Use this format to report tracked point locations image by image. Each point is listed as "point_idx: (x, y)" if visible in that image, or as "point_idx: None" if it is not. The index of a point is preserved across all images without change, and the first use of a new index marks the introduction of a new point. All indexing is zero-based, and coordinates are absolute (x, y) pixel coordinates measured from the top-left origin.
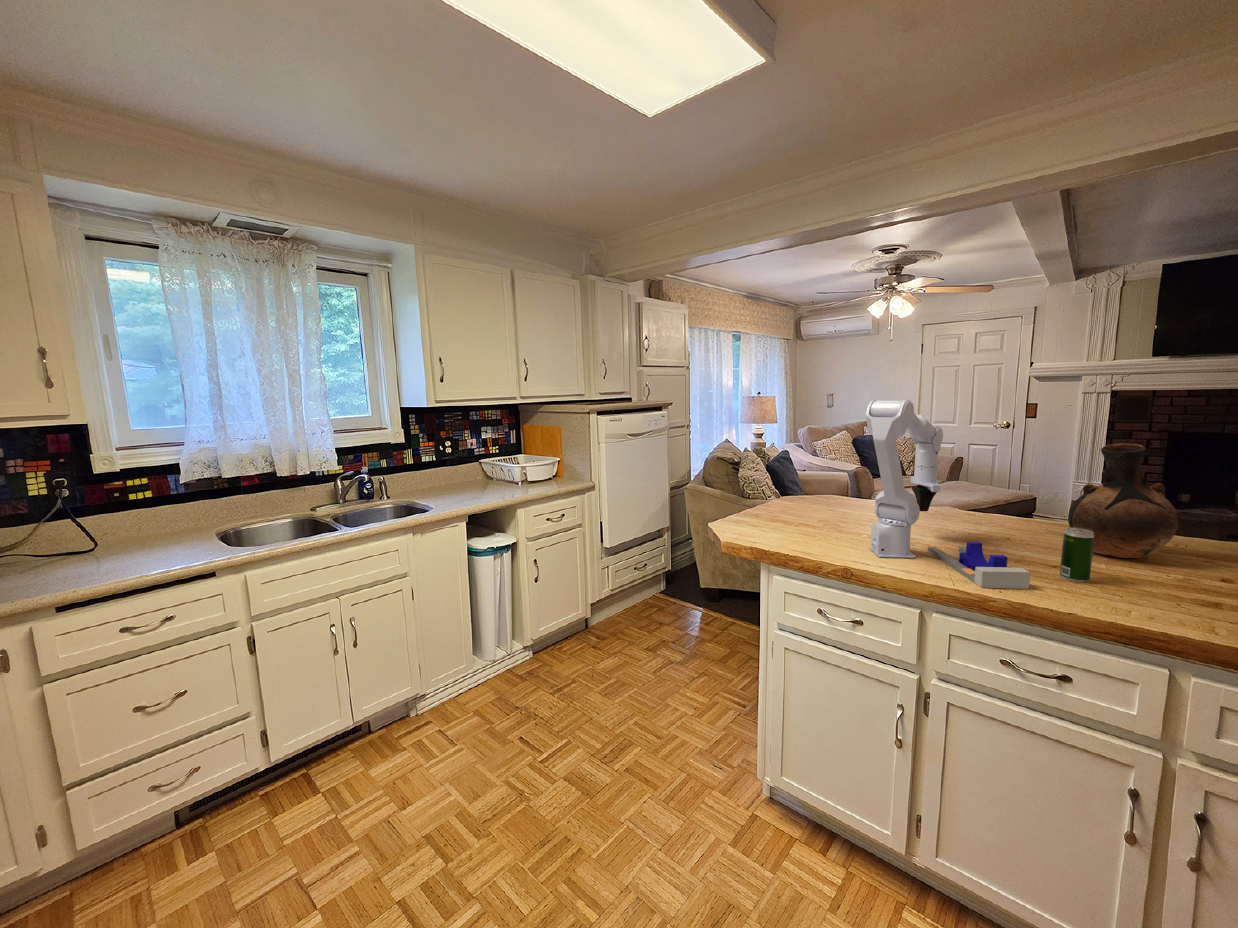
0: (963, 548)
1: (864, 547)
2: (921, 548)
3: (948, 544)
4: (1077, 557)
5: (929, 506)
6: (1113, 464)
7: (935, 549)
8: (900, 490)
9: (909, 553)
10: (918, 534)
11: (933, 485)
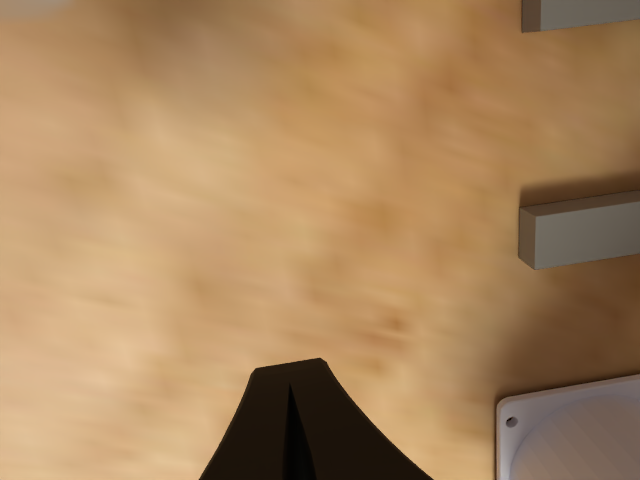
0: (582, 4)
1: None
2: (467, 285)
3: (335, 45)
4: None
5: (337, 387)
6: None
7: (604, 238)
8: None
9: (629, 396)
10: (48, 212)
11: None
